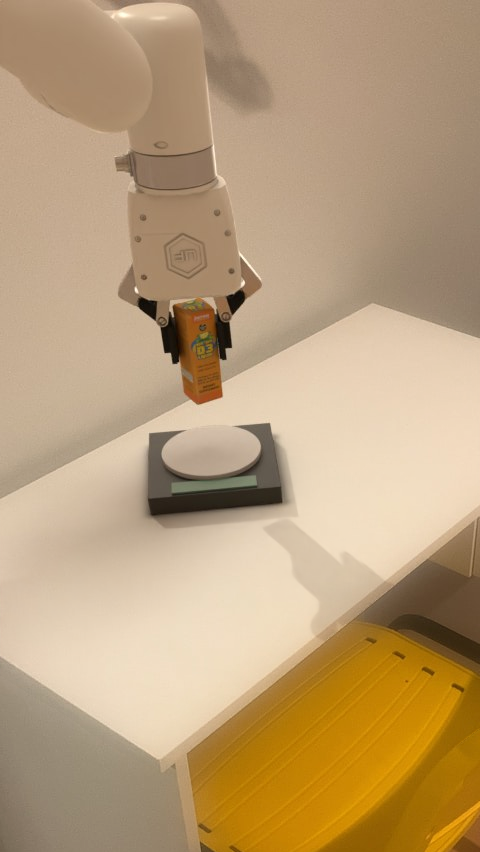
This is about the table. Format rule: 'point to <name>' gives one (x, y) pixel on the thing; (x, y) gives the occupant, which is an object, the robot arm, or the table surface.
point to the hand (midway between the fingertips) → (199, 354)
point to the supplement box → (198, 350)
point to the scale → (212, 468)
